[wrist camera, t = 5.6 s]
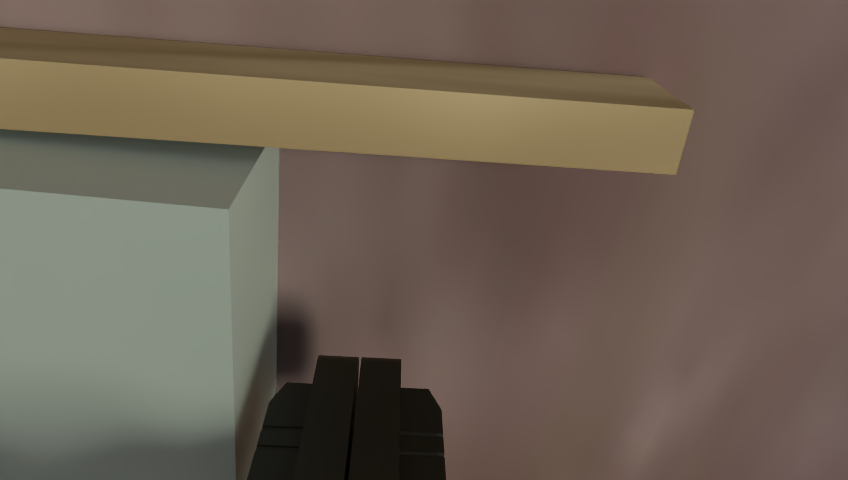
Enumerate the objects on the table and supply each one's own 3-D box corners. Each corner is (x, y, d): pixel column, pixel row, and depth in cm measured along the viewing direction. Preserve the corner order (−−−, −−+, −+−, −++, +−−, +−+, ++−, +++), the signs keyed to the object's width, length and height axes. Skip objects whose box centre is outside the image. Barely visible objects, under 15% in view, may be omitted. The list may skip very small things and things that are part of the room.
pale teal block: (-191, 67, 11) (-481, 144, 7) (282, 116, 11) (228, 209, 8) (-100, 349, 14) (-278, 506, 10) (279, 376, 14) (237, 532, 11)
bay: (-397, -4, 10) (-1984, 170, 3) (647, 77, 11) (1015, 332, 4) (-157, 493, 15) (-598, 950, 8) (541, 516, 16) (636, 940, 9)
